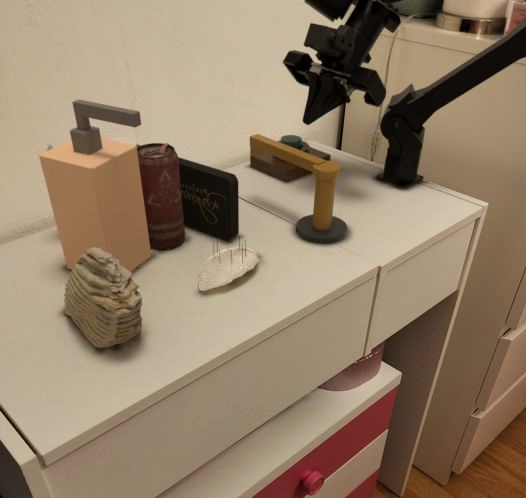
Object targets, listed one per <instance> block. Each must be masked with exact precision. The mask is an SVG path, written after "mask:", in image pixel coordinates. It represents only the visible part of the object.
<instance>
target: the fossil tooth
mask: <svg viewBox="0 0 526 498" xmlns="http://www.w3.org/2000/svg"><path fill="white" fill-rule="evenodd" d="M120 263H121V262H120V260H117V259H115V258H113V255H112V254H110V253H109V252H105V251H103V250H102V249H101V248H96V247H91V248H89V249H87V250H86V251H85V254H83V255H81V257H80V258H79V260H78V261H77V264H75V267H73V270H70V274H69V276H68V278H67V281H66V284H65V288H64V291H65V292H64V295H63V296H64V308H65V312H64V313H65V314H66V315H67V316H69V317H70V318H71V320H72V321H73V322H74V323H75V325H76V326H77V327H78V328H79V330H81V331H82V333H83V334H84V336H85V337H86V338H87V340H88V341H89V342H90V343H91V344H92V345H93V346H94V347H95V348H98V349H104V348H110V347H113V346H116V345H119V344H123V343H125V342H127V341H128V340H130V339H132V338H133V337H134V336H136V335H137V334H139V333H141V332H142V328H143V323H142V322H143V317H142V314H141V312H142V311H141V309H142V306H143V296H142V295H141V292H140V291H138V289H139V288H140V286H139V285H138V284H137V283H136V282H135V281H134V279H133V278H132V275H133V272H132V271H131V272H130V271H128V270H127V269H126V268H125V267H123V266H121V265H120Z"/></svg>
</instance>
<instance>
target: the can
mask: <svg viewBox="0 0 526 498" xmlns="http://www.w3.org/2000/svg"><path fill="white" fill-rule="evenodd" d="M137 154H138V162H139V169H140V176H141V184H142V191H143V198H144V206H145V213H146V220H147V228H148V235H149V242H150V248H153V249H157V250H172V249H174V248H177V247H179V246H181V244H182V243H183V242H184V240H185V238H186V230H185V225H184V219H183V207H182V196H181V185H180V173H179V162H178V157H179V155H178V153H177V152H176V149H175V147H174V146H173V145H171V144H170V143H168V142H164V143H161V142H152V143H145V144H142V145H140V146H139V147H138V148H137Z"/></svg>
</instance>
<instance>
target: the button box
mask: <svg viewBox="0 0 526 498" xmlns="http://www.w3.org/2000/svg"><path fill="white" fill-rule="evenodd" d="M276 141H277V142H280V143H281V139H280V140H276ZM298 150H300V151H303V152H306V153H308V154H311V155H313V156H316V157H318V158H321V159H324V160H326V161H331V153H328V152H325V151H322V150H319V149H317V148H314V147H311V146H310V144H309V143H308V142H306V141H304V140H302V146H301V149H298ZM249 166H250V167H251V168H253V169H255V170H257V171H260V172H262V173H264V174H266V175H268V176H270V177H273V178H275V179H278V180H280V181H282V182H284V183H288V182H291V181H293V180H296V179H299V178H301V177H304V176H307V175H309V174H313V172H312V171H309V170H307V169H304V168H302V167H299V166H297V165H295V164H292V163H290V162H287V161H285V160H282V159H280V158H278V157H275V156H273V155H270V154H268V153H265V152H264V155H261V156H258V157H255V156H253V155H250V154H249Z"/></svg>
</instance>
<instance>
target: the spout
mask: <svg viewBox="0 0 526 498" xmlns="http://www.w3.org/2000/svg"><path fill="white" fill-rule="evenodd" d="M277 141H278V140H275V139H272V138H270V137H267V136H265V135H262V134H259V133H256V134H253V135H249V156H250V155H253V156H255V157H258V156H261V155H264V152H265V153H268V154H270V155H273V156H275V157H278V158H280V159H282V160H285V161H287V162H290V163H292V164H295V165H297V166H299V167H302V168H304V169H307V170H309V171H312V176H313V178H315V179H316V178H317V179H320V180H335V179H336V180H338V179H339V178H340V177H341V169H342V166H341V164H340V163H338V162H336V161H333V160H330V161H326V160H324V159H321V158H318V157H316V156H313V155H311V154H308V153H306V152H303V151H300V150H298V149H295V148H293V147H290V146H288V145H285V144H282V143H280V142H277Z"/></svg>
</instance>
